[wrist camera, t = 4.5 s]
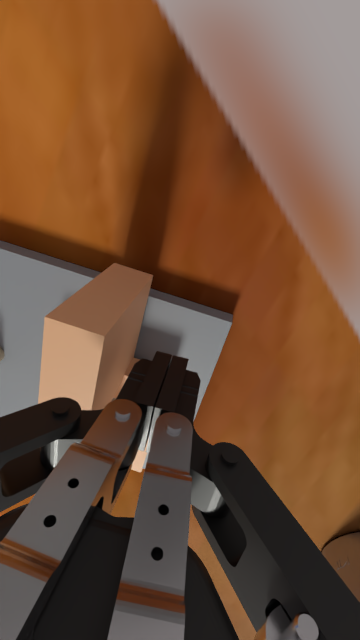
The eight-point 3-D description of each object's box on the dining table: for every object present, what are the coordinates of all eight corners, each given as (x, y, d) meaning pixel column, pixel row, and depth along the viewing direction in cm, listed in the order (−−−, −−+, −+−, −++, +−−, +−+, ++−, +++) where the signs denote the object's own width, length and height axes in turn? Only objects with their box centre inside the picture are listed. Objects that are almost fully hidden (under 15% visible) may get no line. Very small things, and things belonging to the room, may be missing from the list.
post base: (232, 314, 21) (229, 366, 15) (174, 465, 27) (157, 538, 22) (-16, 235, 21) (-103, 259, 16) (-12, 402, 28) (-72, 458, 23)
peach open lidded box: (147, 450, 25) (114, 554, 18) (51, 418, 25) (-17, 508, 19) (199, 289, 19) (175, 359, 12) (69, 248, 19) (-25, 294, 12)
